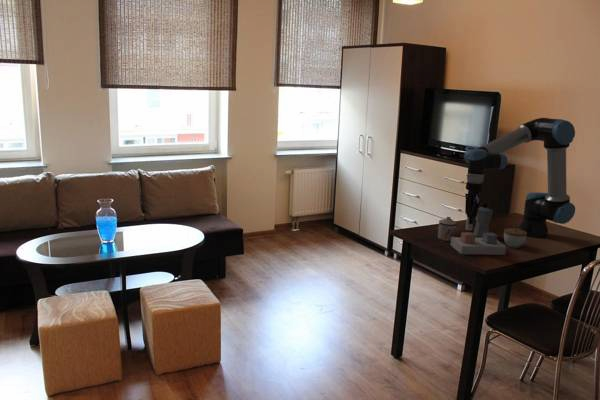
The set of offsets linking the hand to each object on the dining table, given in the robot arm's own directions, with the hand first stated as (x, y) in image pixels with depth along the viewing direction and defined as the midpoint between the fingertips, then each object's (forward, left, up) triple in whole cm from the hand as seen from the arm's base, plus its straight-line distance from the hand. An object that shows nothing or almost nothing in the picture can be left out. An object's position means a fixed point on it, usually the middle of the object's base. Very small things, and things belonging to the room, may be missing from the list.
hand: (468, 229), depth 254 cm
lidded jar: (-28, -7, -10) cm, 30 cm away
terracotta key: (0, 0, -7) cm, 7 cm away
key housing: (-6, 0, -10) cm, 11 cm away
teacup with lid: (+2, -18, -10) cm, 21 cm away
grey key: (-11, 0, -7) cm, 13 cm away
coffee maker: (-18, -25, -10) cm, 32 cm away
